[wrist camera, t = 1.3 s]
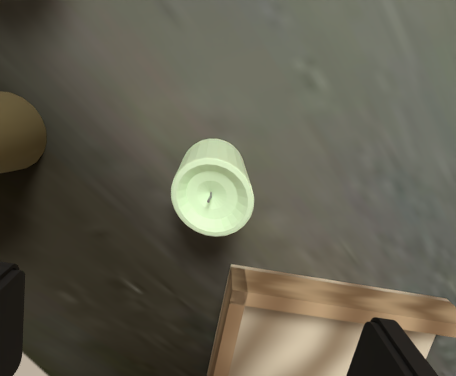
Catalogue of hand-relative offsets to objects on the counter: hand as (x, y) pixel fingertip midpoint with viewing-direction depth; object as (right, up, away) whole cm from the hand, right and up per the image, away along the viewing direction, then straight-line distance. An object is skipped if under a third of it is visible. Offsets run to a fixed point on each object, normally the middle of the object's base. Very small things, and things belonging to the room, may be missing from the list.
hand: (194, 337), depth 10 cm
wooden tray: (+9, -14, +25) cm, 30 cm away
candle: (0, +6, +19) cm, 20 cm away
